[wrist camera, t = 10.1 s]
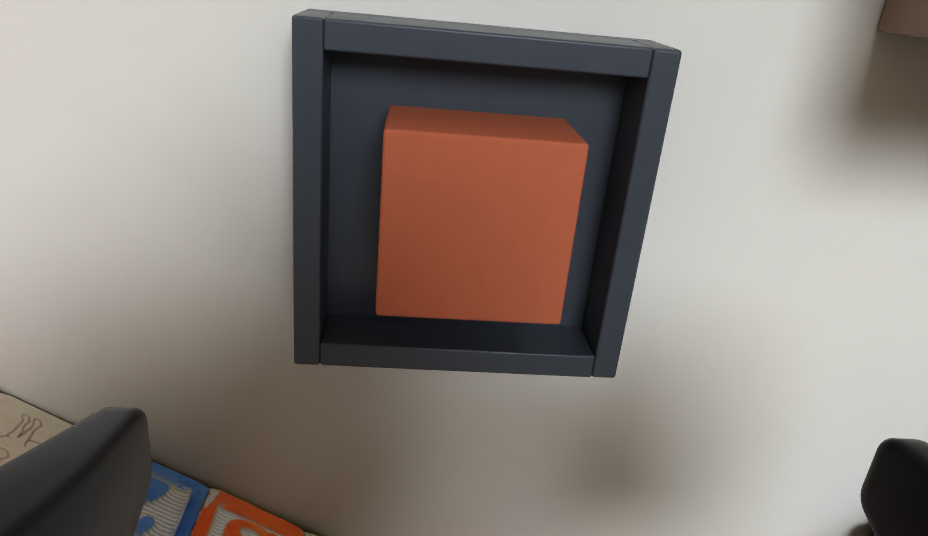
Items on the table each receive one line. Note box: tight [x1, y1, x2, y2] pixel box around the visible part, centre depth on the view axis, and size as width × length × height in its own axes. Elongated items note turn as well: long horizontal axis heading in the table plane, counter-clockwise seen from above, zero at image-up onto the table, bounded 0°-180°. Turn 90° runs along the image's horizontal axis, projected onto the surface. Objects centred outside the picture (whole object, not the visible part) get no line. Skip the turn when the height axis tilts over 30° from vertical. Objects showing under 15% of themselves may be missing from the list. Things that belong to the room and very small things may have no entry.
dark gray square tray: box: [292, 9, 681, 378], centre depth 16 cm, size 8×8×2 cm
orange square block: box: [376, 105, 589, 324], centre depth 15 cm, size 4×4×2 cm
